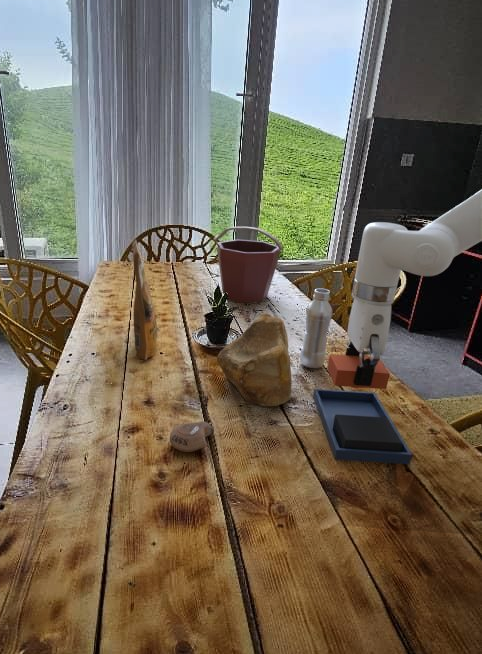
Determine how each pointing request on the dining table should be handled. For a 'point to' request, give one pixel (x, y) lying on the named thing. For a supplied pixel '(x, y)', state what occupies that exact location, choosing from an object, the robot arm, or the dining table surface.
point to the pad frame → (356, 406)
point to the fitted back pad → (366, 433)
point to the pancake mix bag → (143, 311)
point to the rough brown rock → (260, 362)
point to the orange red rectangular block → (345, 369)
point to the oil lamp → (190, 436)
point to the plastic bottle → (316, 330)
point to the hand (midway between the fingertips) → (356, 374)
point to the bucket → (247, 266)
